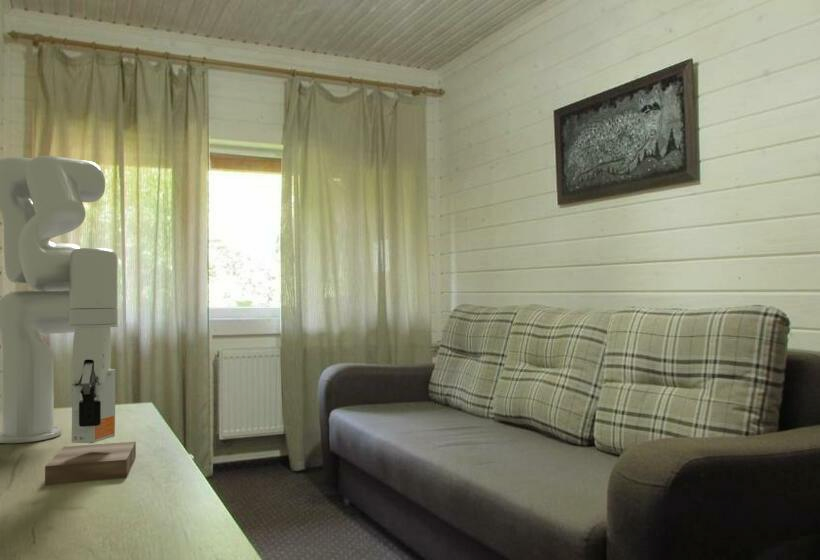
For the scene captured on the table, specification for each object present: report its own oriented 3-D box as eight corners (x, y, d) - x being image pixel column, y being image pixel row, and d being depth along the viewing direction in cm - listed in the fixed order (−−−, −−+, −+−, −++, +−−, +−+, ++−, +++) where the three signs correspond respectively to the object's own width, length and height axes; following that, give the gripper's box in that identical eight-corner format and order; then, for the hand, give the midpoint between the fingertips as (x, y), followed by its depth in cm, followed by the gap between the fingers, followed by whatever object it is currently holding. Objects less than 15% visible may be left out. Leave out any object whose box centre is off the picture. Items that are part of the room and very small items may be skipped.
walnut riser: (63, 463, 115) (63, 446, 115) (135, 457, 118) (135, 441, 118) (44, 485, 101) (45, 466, 101) (126, 477, 105) (126, 459, 105)
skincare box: (93, 444, 107) (93, 372, 107) (70, 443, 108) (70, 372, 108) (116, 436, 113) (116, 368, 113) (95, 435, 113) (95, 368, 114)
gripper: (79, 318, 118) (79, 414, 117) (58, 321, 101) (58, 433, 101) (123, 317, 120) (123, 411, 120) (110, 320, 103) (110, 429, 103)
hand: (93, 420), depth 110 cm, fingers closed on skincare box, 7 cm apart
